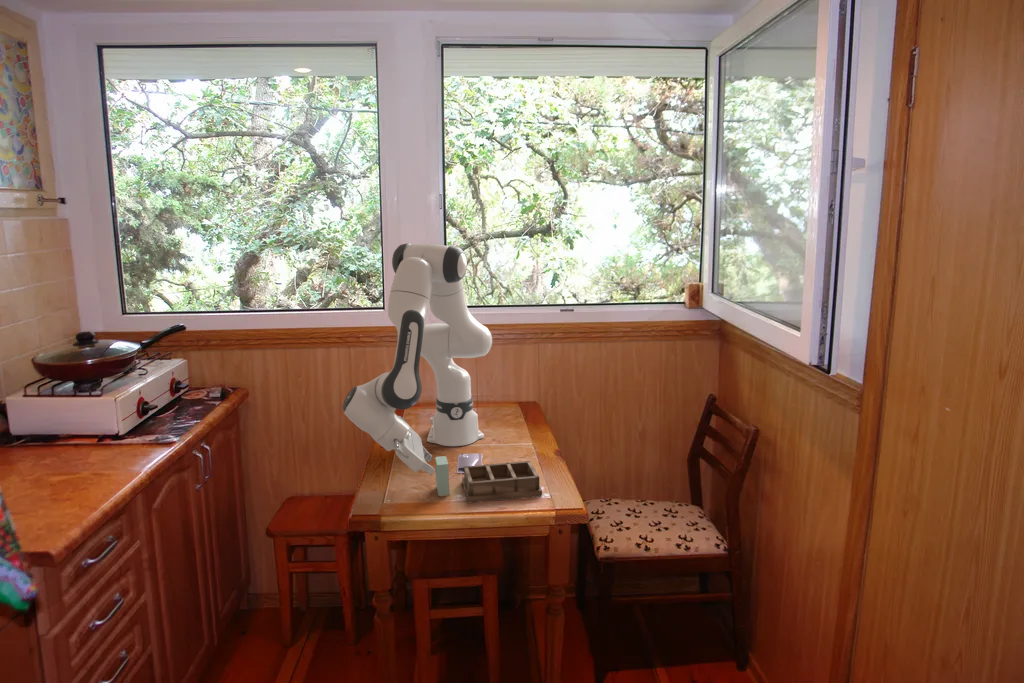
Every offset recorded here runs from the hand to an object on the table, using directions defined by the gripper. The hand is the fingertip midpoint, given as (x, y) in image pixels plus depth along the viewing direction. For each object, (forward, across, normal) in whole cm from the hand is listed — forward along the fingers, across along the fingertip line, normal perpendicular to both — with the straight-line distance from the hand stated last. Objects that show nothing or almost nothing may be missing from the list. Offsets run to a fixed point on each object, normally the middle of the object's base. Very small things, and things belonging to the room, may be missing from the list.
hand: (432, 465), depth 195 cm
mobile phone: (+15, +18, -3) cm, 23 cm away
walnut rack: (+19, -2, -8) cm, 20 cm away
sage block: (+7, 0, +4) cm, 8 cm away
